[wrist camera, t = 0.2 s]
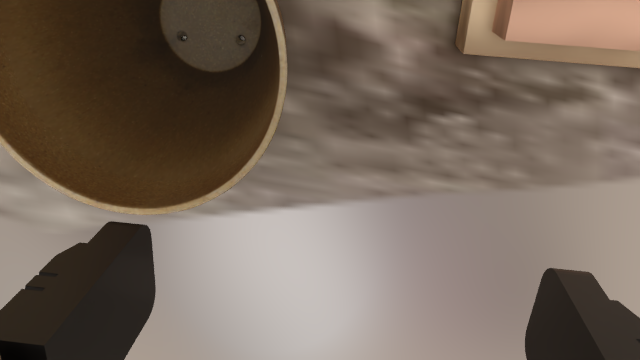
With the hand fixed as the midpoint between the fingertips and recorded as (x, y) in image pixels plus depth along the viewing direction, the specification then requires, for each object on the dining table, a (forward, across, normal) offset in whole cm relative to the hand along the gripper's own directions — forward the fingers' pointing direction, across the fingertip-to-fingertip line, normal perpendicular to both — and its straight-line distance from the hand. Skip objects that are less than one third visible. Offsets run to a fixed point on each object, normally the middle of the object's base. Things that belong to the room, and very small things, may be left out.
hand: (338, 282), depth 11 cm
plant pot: (+29, +10, -1) cm, 31 cm away
